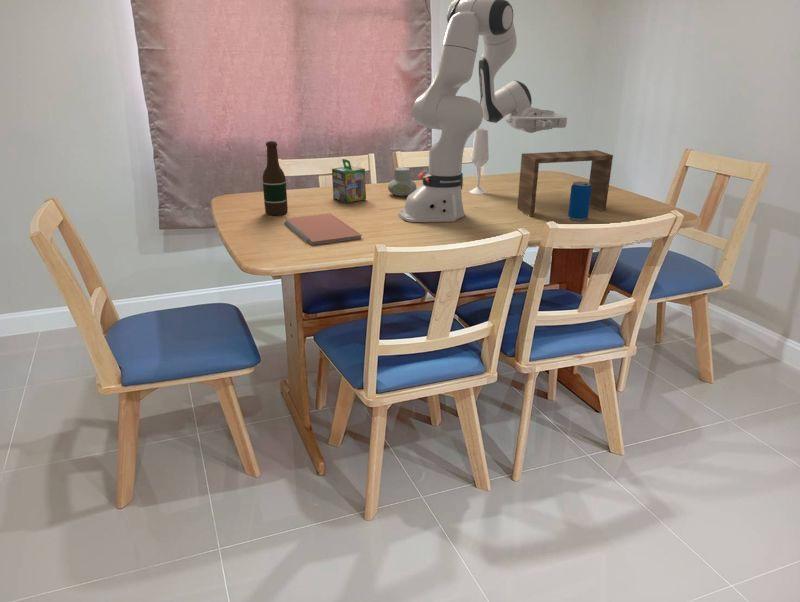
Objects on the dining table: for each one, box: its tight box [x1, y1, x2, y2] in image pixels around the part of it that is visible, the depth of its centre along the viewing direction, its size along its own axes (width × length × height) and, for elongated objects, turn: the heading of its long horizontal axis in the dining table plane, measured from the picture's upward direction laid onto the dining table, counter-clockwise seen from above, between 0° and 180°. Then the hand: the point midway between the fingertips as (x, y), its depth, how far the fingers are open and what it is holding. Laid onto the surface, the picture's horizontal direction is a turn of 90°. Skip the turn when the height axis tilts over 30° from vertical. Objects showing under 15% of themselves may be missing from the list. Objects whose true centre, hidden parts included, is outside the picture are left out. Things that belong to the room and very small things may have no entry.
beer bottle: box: [262, 140, 289, 217], centre depth 210 cm, size 8×8×24 cm
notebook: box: [283, 212, 363, 246], centre depth 197 cm, size 27×17×2 cm, turn 26°
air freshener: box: [387, 166, 418, 198], centre depth 239 cm, size 11×8×10 cm
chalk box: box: [331, 158, 367, 204], centre depth 231 cm, size 9×9×15 cm
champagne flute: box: [469, 127, 490, 195], centre depth 241 cm, size 7×7×24 cm
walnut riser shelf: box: [516, 149, 614, 217], centre depth 217 cm, size 29×10×20 cm, turn 106°
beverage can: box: [567, 180, 592, 222], centre depth 209 cm, size 6×6×12 cm
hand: (548, 124), depth 218 cm, fingers closed
